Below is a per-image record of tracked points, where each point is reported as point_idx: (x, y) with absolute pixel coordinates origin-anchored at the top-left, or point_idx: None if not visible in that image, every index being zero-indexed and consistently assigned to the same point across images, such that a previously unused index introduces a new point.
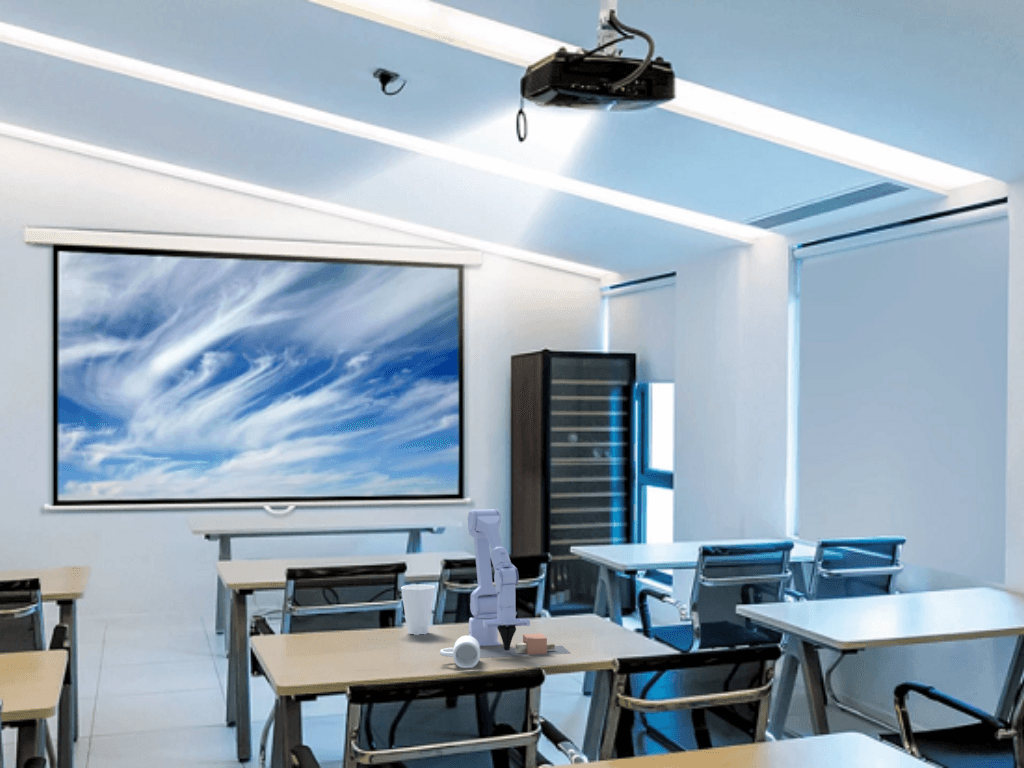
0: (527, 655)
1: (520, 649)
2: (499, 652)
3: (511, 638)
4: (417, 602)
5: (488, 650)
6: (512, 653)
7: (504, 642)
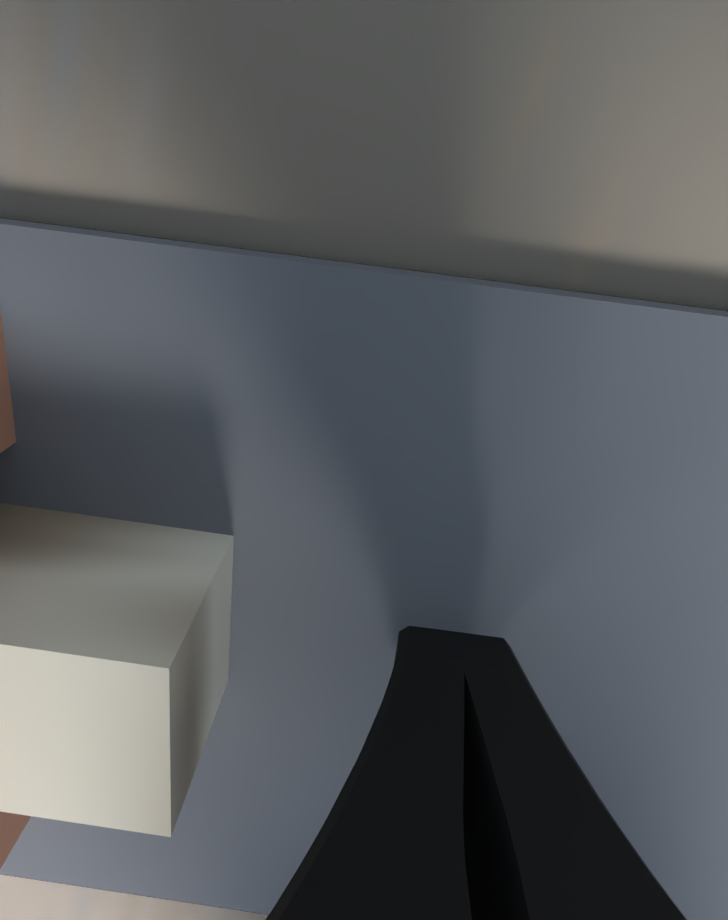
0: (27, 230)
1: (124, 572)
2: (568, 722)
3: (326, 878)
4: None
5: (679, 906)
6: (339, 558)
7: (597, 795)
